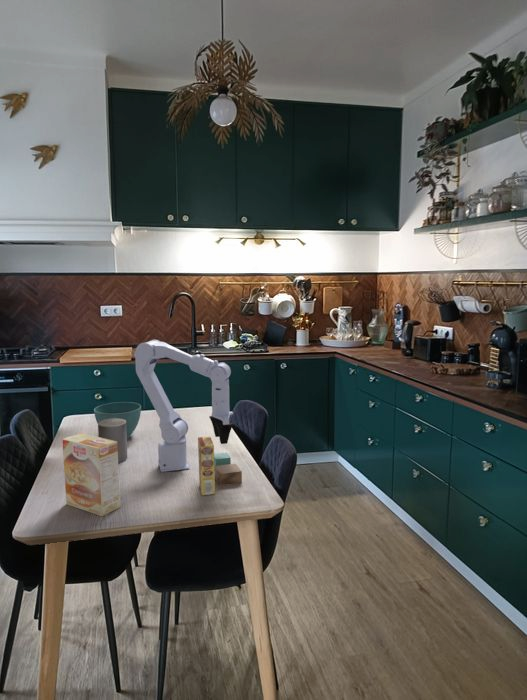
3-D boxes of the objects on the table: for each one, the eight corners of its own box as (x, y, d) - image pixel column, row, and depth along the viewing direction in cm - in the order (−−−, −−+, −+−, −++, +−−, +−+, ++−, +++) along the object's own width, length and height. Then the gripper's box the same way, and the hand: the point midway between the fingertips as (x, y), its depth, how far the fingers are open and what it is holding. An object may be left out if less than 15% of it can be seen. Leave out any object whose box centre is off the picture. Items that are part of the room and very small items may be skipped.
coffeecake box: (65, 504, 147) (61, 438, 144) (85, 495, 153) (82, 432, 150) (101, 517, 139) (97, 447, 136) (121, 507, 145) (118, 440, 142)
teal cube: (215, 473, 169) (215, 459, 169) (212, 468, 174) (212, 454, 173) (230, 471, 171) (230, 457, 170) (227, 466, 176) (226, 452, 175)
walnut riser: (220, 486, 160) (220, 474, 159) (214, 478, 166) (214, 466, 166) (241, 483, 162) (241, 471, 161) (235, 475, 168) (235, 463, 168)
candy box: (215, 494, 153) (214, 445, 151) (201, 496, 152) (200, 446, 150) (211, 483, 161) (211, 436, 159) (198, 484, 161) (197, 437, 158)
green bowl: (117, 447, 196) (116, 415, 194) (85, 439, 205) (84, 409, 203) (151, 434, 211) (150, 405, 209) (120, 427, 220) (119, 399, 219)
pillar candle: (94, 459, 182) (92, 418, 180) (118, 452, 189) (116, 413, 187) (108, 466, 176) (106, 424, 174) (133, 459, 183) (131, 418, 181)
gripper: (238, 404, 163) (238, 445, 165) (227, 394, 177) (227, 432, 179) (216, 406, 161) (217, 447, 163) (206, 395, 175) (207, 434, 177)
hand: (221, 439), depth 171 cm, fingers open, 7 cm apart
